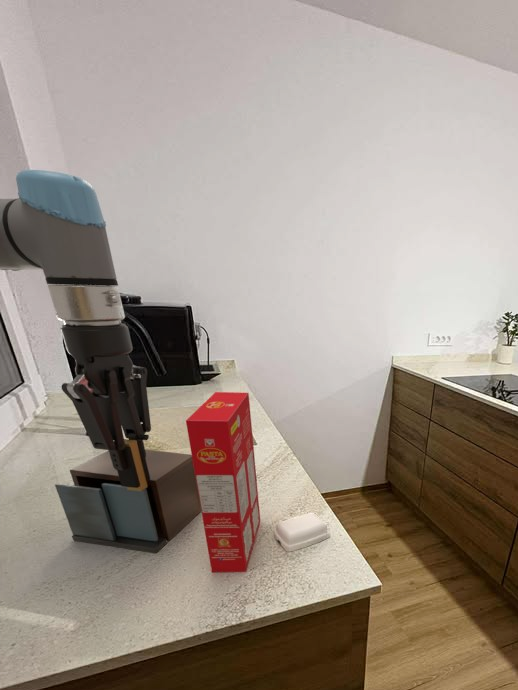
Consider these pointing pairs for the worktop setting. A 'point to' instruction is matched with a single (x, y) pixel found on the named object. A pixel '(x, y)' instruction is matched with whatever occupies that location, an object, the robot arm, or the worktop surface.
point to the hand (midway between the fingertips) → (136, 482)
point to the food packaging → (226, 478)
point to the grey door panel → (131, 504)
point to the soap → (301, 531)
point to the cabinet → (163, 492)
